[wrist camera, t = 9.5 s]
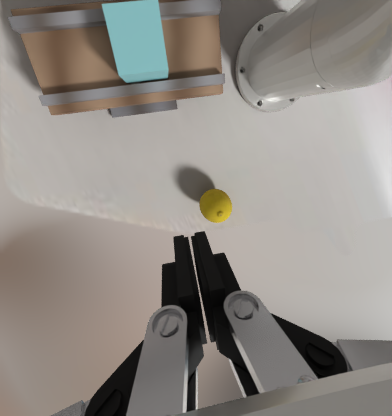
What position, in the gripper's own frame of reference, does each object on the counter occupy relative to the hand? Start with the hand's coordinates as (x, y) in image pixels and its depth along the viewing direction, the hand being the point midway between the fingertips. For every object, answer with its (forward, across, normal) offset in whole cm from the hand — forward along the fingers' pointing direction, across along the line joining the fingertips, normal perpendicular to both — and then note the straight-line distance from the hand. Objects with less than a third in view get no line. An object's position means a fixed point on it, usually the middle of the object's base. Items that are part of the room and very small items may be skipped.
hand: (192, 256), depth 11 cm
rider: (+21, +2, -14) cm, 25 cm away
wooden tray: (+27, +3, -14) cm, 31 cm away
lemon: (+27, -6, +8) cm, 29 cm away
